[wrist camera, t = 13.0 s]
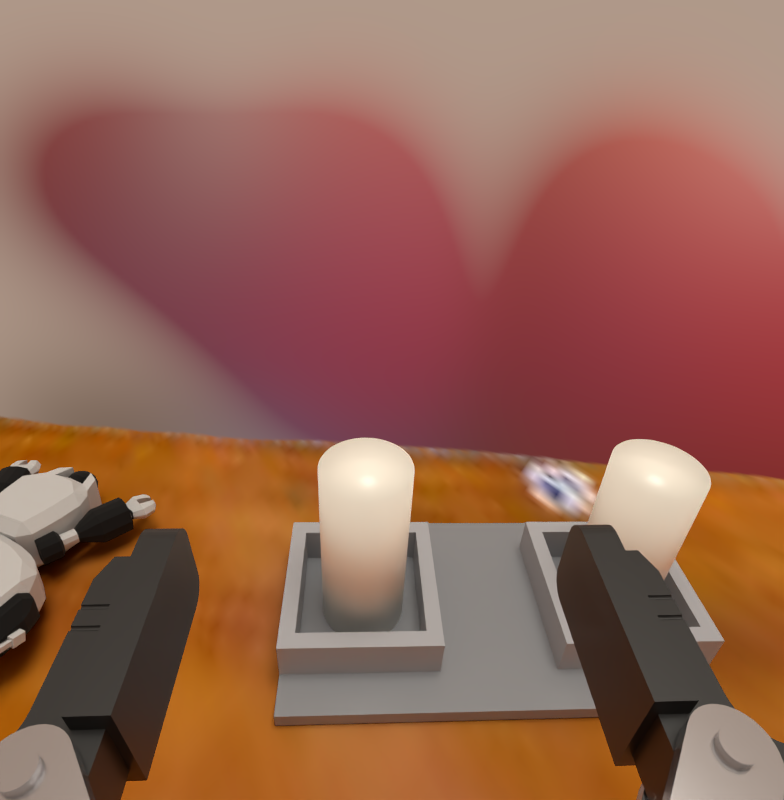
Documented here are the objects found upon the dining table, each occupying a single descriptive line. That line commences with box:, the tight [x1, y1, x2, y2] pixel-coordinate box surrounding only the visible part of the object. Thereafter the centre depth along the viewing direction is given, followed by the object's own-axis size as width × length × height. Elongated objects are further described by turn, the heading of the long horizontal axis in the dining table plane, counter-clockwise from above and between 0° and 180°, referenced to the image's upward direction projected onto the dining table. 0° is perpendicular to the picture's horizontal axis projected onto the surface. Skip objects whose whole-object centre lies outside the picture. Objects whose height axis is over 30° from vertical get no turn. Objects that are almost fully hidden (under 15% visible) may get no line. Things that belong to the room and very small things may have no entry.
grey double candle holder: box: [274, 439, 724, 726], centre depth 28 cm, size 22×12×11 cm, turn 93°
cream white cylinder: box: [318, 438, 415, 632], centre depth 27 cm, size 4×4×10 cm
